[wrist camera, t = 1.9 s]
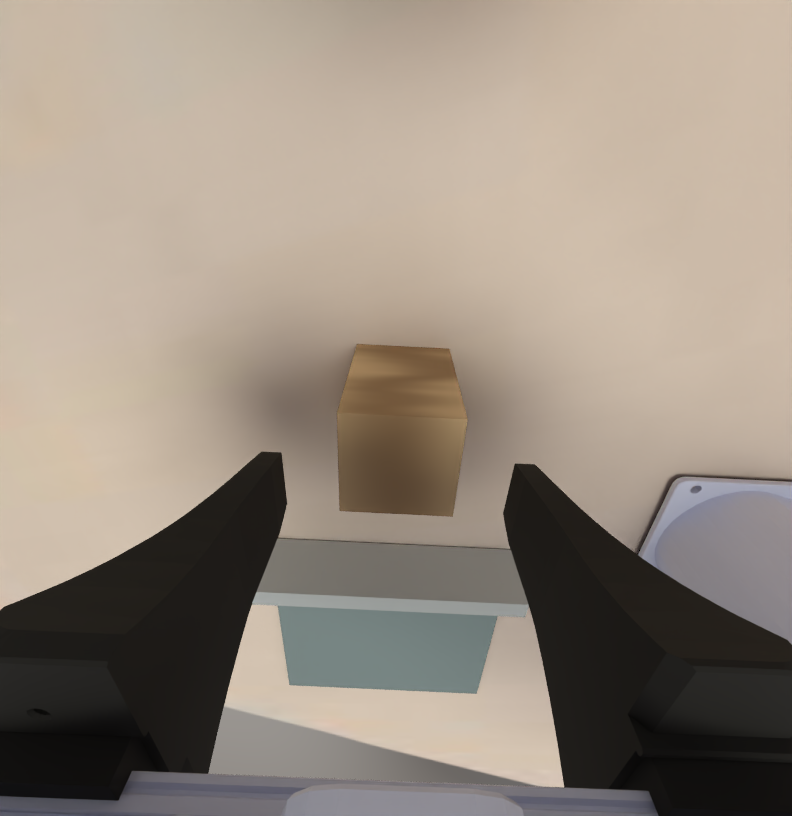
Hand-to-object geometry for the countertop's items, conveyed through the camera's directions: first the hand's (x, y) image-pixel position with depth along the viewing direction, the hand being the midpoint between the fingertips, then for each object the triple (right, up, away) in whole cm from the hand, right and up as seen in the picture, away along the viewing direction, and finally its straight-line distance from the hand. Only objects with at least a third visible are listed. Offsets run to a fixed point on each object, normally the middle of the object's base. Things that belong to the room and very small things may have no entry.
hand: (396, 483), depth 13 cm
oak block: (0, +3, +6) cm, 7 cm away
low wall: (0, -6, +11) cm, 12 cm away
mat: (-1, -14, +16) cm, 21 cm away
